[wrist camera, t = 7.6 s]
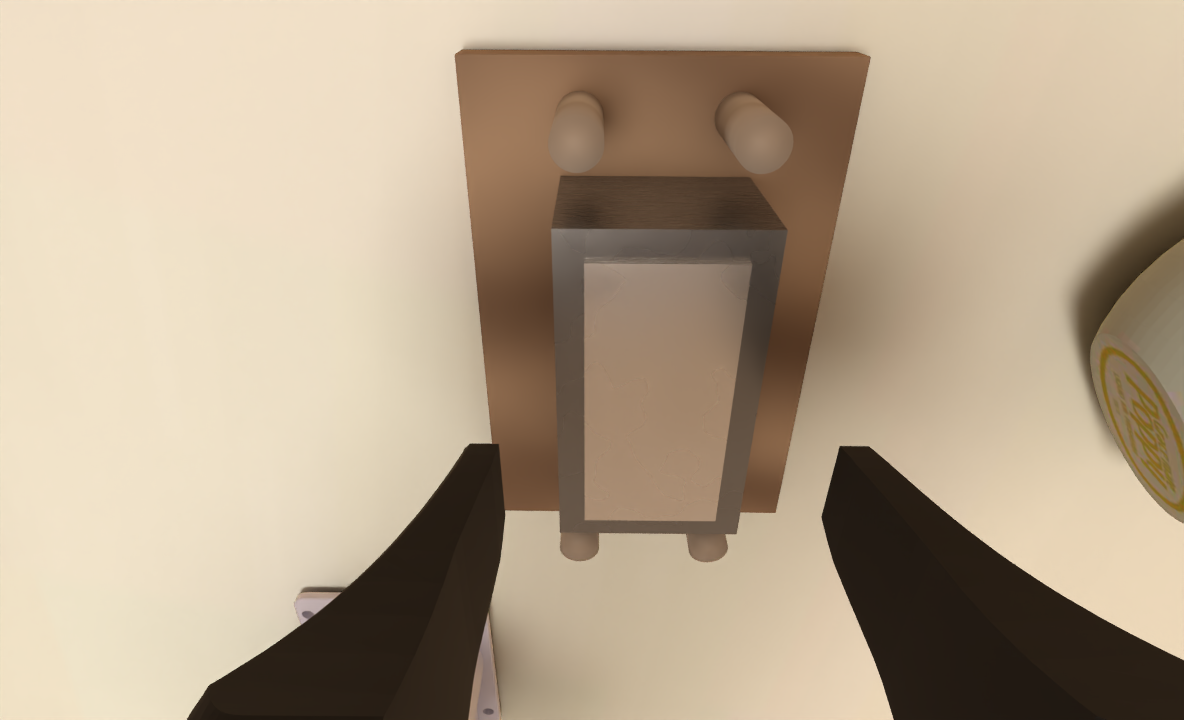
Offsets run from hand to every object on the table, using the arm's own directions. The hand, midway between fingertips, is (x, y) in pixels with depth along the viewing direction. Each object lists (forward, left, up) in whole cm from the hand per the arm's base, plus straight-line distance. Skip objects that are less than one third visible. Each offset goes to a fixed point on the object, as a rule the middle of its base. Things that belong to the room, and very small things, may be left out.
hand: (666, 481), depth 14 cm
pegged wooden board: (0, 0, -8) cm, 8 cm away
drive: (0, 0, -7) cm, 7 cm away
